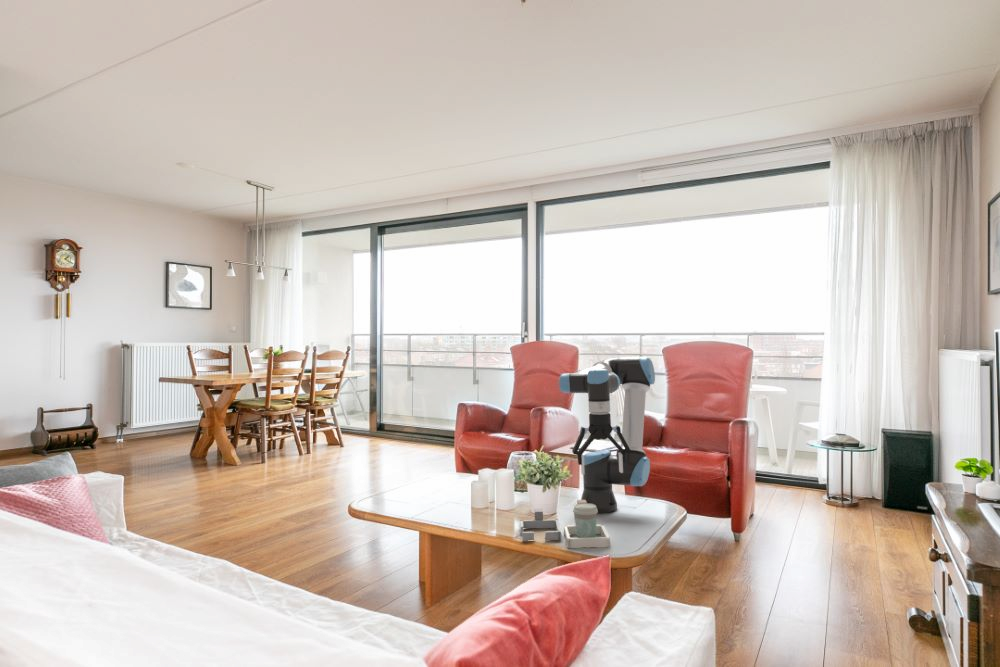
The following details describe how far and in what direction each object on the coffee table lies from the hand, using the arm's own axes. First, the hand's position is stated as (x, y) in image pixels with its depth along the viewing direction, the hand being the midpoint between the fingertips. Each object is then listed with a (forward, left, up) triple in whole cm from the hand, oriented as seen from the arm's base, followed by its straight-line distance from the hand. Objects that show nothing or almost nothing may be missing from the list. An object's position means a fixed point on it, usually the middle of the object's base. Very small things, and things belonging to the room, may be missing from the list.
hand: (602, 473), depth 211 cm
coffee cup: (+5, -7, -22) cm, 24 cm away
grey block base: (-5, -22, -22) cm, 32 cm away
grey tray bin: (+3, -7, -22) cm, 23 cm away
